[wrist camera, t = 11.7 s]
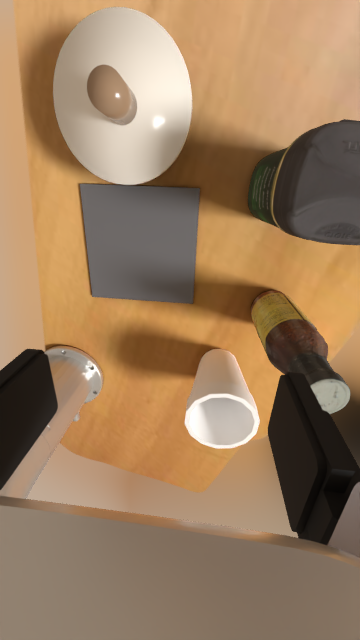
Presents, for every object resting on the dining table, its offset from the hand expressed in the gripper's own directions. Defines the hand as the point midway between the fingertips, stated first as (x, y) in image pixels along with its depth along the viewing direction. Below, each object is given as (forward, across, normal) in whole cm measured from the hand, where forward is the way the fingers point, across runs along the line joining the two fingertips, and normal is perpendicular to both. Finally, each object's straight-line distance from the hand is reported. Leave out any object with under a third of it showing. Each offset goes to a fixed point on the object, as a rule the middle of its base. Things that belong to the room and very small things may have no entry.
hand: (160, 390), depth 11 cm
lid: (+25, +8, -15) cm, 30 cm away
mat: (+30, +8, 0) cm, 31 cm away
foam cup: (+31, -5, +19) cm, 36 cm away
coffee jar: (+31, -11, -8) cm, 33 cm away
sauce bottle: (+31, -12, +8) cm, 34 cm away
